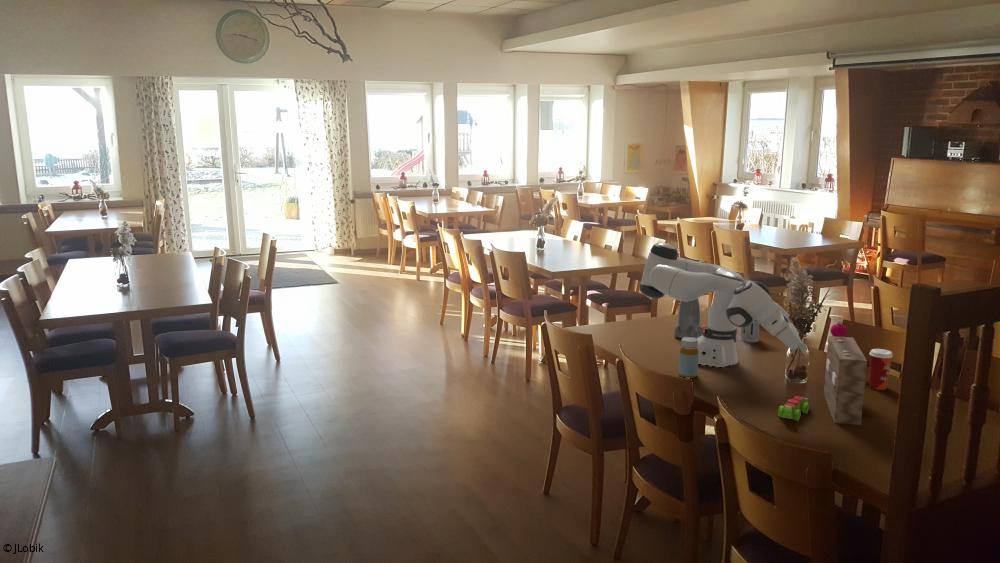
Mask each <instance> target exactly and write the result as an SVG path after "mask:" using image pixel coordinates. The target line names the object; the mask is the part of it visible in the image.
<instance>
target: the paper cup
mask: <svg viewBox="0 0 1000 563" xmlns="http://www.w3.org/2000/svg"><path fill="white" fill-rule="evenodd" d="M893 356H894V355H893V352H892V351H891V350H888V349H884V348H883V349H882V348H873V349H871V350H870V352H869V380H868V381H869V386H868V387H869V388H870V389H873V390H876V391H885V390H887V386H888V382H889V375H890V369H891V363H892V358H893Z"/></svg>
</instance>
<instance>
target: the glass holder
mask: <svg viewBox="0 0 1000 563" xmlns="http://www.w3.org/2000/svg"><path fill="white" fill-rule="evenodd" d="M760 325H761V324H760V323H759V322H758V321H757V320H754V321H753V322H752V323H751V324H750V325H749V326H747V327H740V336H739V338H738V339H739V340H740V341H742V342H744V341H745V343H757V342H758V343H759V342H760V338H759V337H760Z"/></svg>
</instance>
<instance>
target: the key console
mask: <svg viewBox="0 0 1000 563" xmlns="http://www.w3.org/2000/svg"><path fill="white" fill-rule="evenodd" d="M826 357H827V359H829V360H830V372H828V371H827V368H826V367H825V373H824V387H823V396H824V398H825V402H826V401H827V402H826V404H828V405H827V407H828V410H829V412H831V413H830V415H831V418H832V420H833V423H837V424H847V425H855V426H856V425H861V424H862V419H863V418H862V417H863V407H864V397H865V395H864V394H865V386H866V374H867V366H868V365H867V364H868V360H867V358H866V356H865V355H864V353H863V351H862V350H861V348H860V347H859V344H858V343H857V342H856V339H855V338H854V337H852V336H851V337H850V336H849V337H848V336H844V337H836V336H832V335H828V339H827V350H826ZM827 359H825V360H826V363H827ZM833 372H835V374H836V376H837V378H836V386H834V385H833V382H832V373H833Z"/></svg>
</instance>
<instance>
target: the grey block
mask: <svg viewBox="0 0 1000 563" xmlns="http://www.w3.org/2000/svg"><path fill="white" fill-rule="evenodd" d="M826 360H827V363H826V364H825V369H826V368H827V371H828V372H830V360H829V359H826Z"/></svg>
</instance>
